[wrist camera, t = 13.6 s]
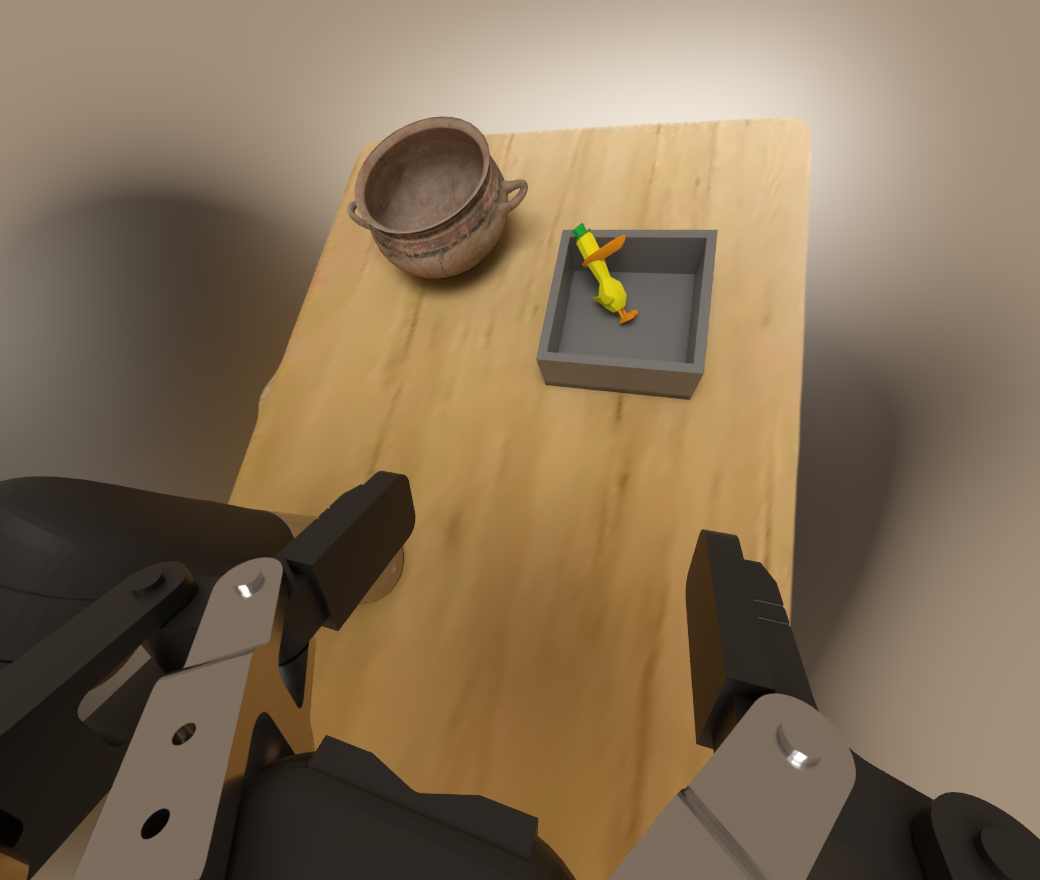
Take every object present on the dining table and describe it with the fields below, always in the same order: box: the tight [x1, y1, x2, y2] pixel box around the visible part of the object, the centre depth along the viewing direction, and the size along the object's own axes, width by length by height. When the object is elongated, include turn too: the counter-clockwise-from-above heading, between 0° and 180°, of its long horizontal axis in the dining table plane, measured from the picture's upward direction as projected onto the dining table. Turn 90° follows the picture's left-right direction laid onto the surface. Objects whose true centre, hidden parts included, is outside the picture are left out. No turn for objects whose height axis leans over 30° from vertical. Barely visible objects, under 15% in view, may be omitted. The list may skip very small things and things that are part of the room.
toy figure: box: [572, 223, 638, 324], centre depth 46 cm, size 7×4×12 cm
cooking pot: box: [348, 117, 528, 278], centre depth 53 cm, size 25×19×12 cm
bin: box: [536, 230, 718, 400], centre depth 46 cm, size 17×17×7 cm
